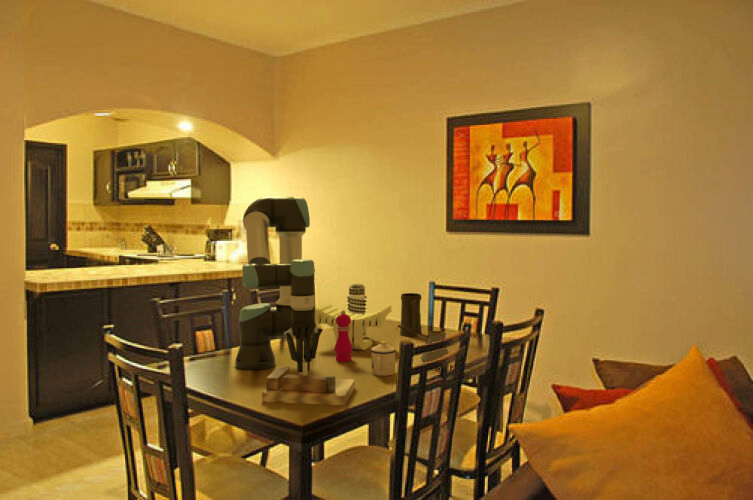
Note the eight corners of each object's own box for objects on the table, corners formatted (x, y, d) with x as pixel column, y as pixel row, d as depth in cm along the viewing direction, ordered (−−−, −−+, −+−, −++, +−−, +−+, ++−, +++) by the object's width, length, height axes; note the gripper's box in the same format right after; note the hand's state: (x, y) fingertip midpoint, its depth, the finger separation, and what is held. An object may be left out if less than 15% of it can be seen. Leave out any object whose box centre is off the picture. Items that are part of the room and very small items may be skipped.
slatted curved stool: (315, 348, 258) (314, 307, 257) (328, 340, 273) (328, 302, 272) (381, 353, 249) (381, 310, 248) (391, 345, 264) (391, 305, 263)
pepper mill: (350, 362, 233) (349, 311, 232) (332, 361, 234) (332, 311, 233) (354, 358, 240) (354, 309, 239) (337, 357, 242) (336, 308, 240)
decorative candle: (351, 334, 288) (351, 283, 286) (369, 335, 285) (369, 283, 283) (344, 338, 279) (344, 285, 278) (362, 339, 276) (362, 285, 275)
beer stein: (396, 332, 292) (397, 292, 290) (416, 331, 295) (417, 291, 293) (407, 340, 278) (408, 299, 275) (428, 339, 281) (429, 298, 278)
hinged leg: (282, 389, 185) (282, 376, 185) (286, 386, 189) (286, 373, 188) (333, 393, 182) (333, 379, 181) (336, 389, 185) (336, 376, 185)
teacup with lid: (374, 369, 223) (374, 338, 222) (398, 370, 221) (398, 339, 220) (365, 377, 212) (365, 345, 211) (390, 379, 209) (390, 346, 208)
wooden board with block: (262, 401, 184) (261, 379, 183) (279, 385, 202) (279, 365, 201) (344, 405, 180) (344, 382, 180) (354, 388, 198) (354, 367, 198)
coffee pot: (452, 362, 233) (453, 324, 232) (448, 370, 222) (448, 330, 221) (399, 359, 238) (399, 322, 238) (392, 366, 227) (393, 327, 227)
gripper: (289, 311, 181) (290, 387, 182) (326, 308, 188) (327, 381, 189) (279, 308, 187) (279, 382, 189) (315, 304, 194) (316, 375, 196)
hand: (303, 381), depth 189 cm, fingers closed
